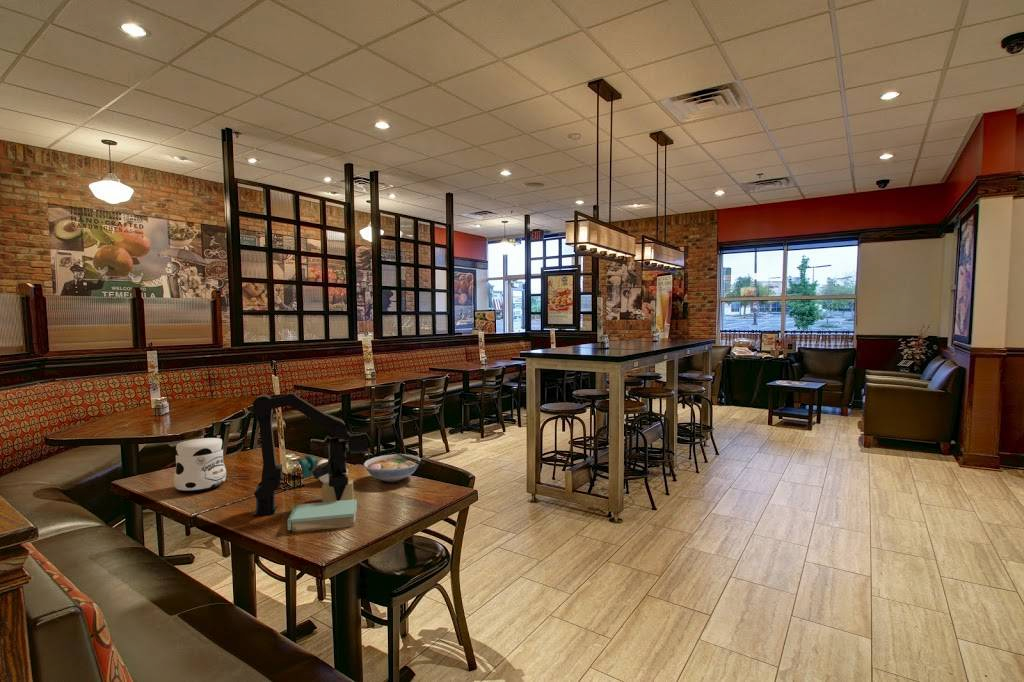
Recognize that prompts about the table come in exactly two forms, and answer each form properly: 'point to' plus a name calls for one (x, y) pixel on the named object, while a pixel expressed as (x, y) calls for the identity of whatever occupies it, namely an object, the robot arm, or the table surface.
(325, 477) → the white lumpy figurine
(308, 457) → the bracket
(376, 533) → the table surface
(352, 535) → the table surface
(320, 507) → the lid
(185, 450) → the milk container
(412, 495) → the table surface
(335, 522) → the box
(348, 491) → the tan rectangular block
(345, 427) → the robot arm
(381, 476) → the ramen bowl
